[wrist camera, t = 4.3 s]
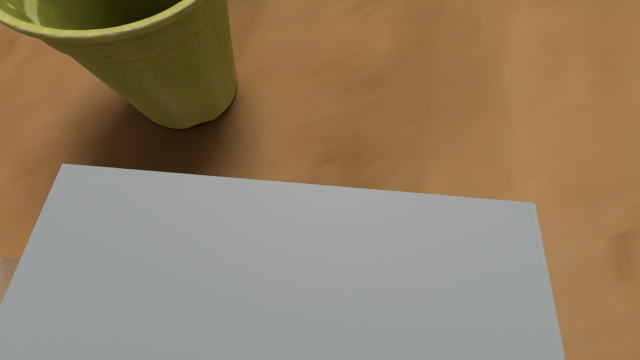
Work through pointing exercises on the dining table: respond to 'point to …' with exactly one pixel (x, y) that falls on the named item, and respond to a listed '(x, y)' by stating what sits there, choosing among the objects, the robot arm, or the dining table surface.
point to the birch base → (6, 274)
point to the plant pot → (142, 50)
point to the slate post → (275, 273)
